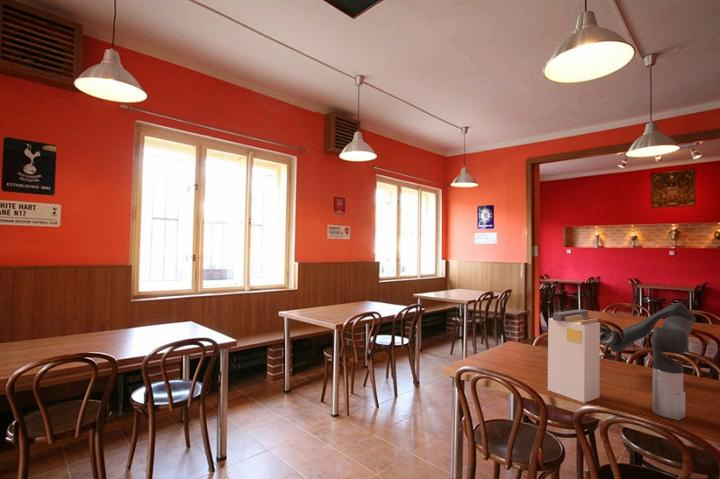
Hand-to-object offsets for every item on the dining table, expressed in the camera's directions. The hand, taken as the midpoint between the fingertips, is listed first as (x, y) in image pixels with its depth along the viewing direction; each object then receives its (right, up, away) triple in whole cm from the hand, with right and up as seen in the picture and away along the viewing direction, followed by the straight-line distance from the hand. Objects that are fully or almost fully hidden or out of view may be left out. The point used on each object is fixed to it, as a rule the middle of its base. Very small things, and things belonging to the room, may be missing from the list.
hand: (588, 326), depth 181 cm
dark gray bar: (-13, +6, -9) cm, 17 cm away
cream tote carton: (-15, -26, -14) cm, 33 cm away
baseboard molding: (+21, -28, +43) cm, 55 cm away
